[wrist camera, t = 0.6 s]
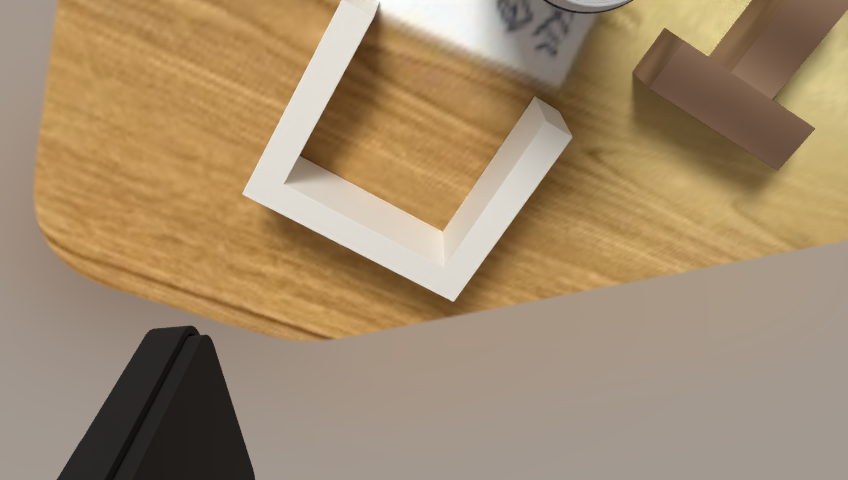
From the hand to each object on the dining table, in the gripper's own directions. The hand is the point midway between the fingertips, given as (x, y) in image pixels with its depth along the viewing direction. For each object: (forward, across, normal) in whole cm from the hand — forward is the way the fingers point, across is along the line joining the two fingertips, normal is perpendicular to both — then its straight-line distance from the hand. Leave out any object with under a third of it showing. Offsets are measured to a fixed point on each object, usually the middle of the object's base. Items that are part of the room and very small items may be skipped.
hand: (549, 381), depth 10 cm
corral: (+27, +4, +6) cm, 28 cm away
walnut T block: (+28, -13, +3) cm, 31 cm away
